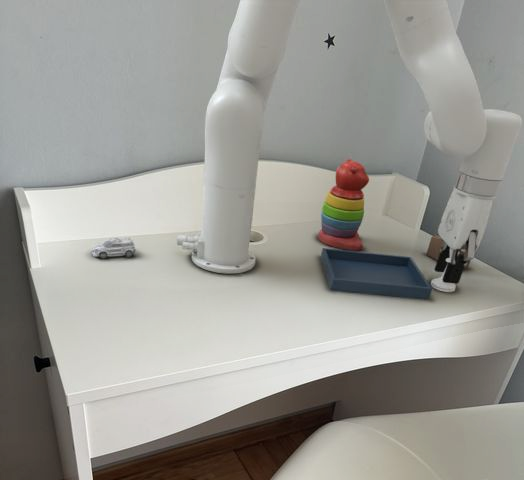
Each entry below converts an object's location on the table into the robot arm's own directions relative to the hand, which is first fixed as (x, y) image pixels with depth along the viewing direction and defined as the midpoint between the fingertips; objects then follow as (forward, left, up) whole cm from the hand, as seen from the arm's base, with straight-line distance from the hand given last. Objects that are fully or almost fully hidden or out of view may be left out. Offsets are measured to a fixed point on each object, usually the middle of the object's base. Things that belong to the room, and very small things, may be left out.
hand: (446, 276), depth 103 cm
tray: (-15, +1, -2) cm, 15 cm away
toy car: (-66, 0, -3) cm, 66 cm away
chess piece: (0, 0, -3) cm, 3 cm away
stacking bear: (-19, +20, -3) cm, 27 cm away
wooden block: (+5, +14, -3) cm, 15 cm away
